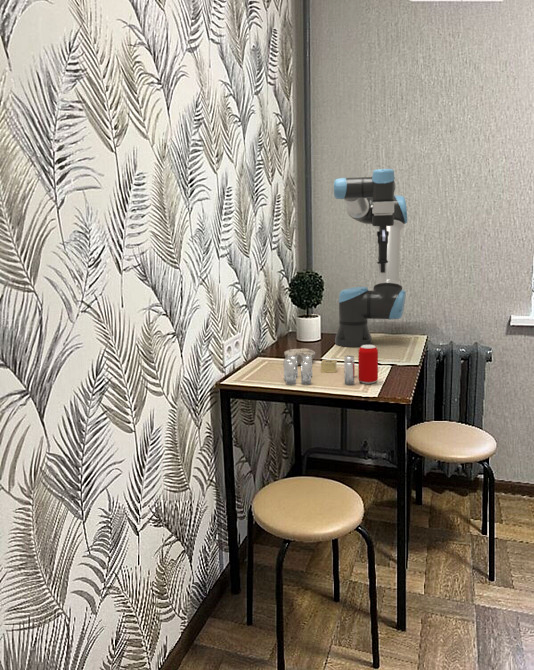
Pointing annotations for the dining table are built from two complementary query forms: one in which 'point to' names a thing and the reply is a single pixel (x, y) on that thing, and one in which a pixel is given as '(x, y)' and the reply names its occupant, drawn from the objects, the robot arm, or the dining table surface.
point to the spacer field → (306, 370)
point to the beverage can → (368, 364)
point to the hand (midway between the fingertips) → (382, 281)
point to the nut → (329, 366)
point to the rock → (299, 354)
